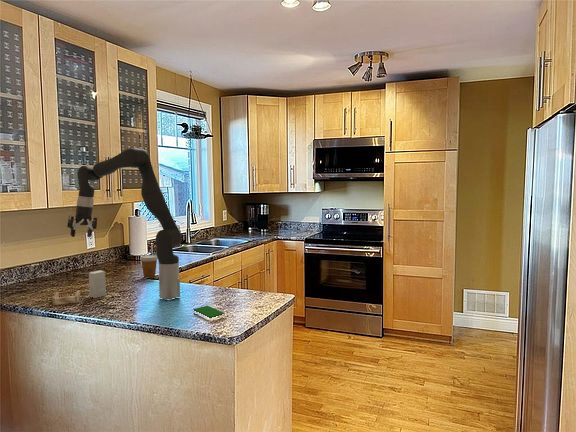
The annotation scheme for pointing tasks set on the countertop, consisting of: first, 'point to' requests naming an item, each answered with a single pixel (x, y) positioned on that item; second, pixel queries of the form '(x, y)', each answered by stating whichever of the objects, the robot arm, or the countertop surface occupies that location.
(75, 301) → the u-shaped wooden frame
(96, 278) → the skincare box
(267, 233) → the countertop surface
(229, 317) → the countertop surface
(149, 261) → the disposable coffee cup
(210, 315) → the dish sponge
